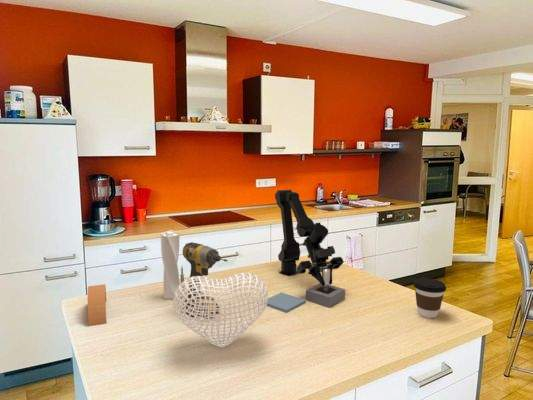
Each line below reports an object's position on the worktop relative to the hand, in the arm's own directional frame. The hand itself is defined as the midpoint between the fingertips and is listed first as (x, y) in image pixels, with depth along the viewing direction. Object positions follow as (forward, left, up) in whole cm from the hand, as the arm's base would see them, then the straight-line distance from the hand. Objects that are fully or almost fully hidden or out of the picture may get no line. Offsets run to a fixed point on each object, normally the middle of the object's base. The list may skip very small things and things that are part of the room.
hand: (327, 284), depth 153 cm
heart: (-5, -50, -7) cm, 51 cm away
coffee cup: (+34, +14, -7) cm, 37 cm away
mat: (-11, -13, -7) cm, 18 cm away
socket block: (-1, +1, -7) cm, 7 cm away
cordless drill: (-26, -39, -7) cm, 48 cm away
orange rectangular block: (-56, -64, -7) cm, 85 cm away
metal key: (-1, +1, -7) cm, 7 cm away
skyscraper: (-48, -37, -7) cm, 61 cm away
